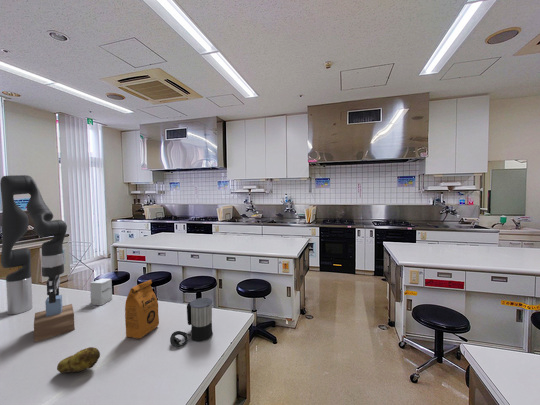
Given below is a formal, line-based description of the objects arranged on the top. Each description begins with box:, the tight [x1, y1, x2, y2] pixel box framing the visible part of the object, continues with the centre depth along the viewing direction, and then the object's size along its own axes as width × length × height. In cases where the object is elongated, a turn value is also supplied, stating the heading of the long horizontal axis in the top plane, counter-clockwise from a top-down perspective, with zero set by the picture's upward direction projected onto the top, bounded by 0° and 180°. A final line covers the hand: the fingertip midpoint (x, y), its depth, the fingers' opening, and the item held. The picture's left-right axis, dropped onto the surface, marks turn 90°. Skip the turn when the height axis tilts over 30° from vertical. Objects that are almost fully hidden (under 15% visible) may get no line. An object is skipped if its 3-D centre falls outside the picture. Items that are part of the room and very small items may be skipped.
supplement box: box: [89, 278, 113, 306], centre depth 136 cm, size 7×7×13 cm
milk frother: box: [169, 297, 214, 348], centre depth 100 cm, size 14×16×15 cm
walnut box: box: [33, 303, 75, 343], centre depth 108 cm, size 13×13×8 cm
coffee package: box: [124, 279, 160, 339], centre depth 105 cm, size 10×12×22 cm
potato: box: [56, 346, 101, 374], centre depth 82 cm, size 8×13×8 cm, turn 71°
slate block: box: [44, 294, 63, 317], centre depth 108 cm, size 5×5×7 cm
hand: (54, 299), depth 108 cm, fingers open, 8 cm apart
